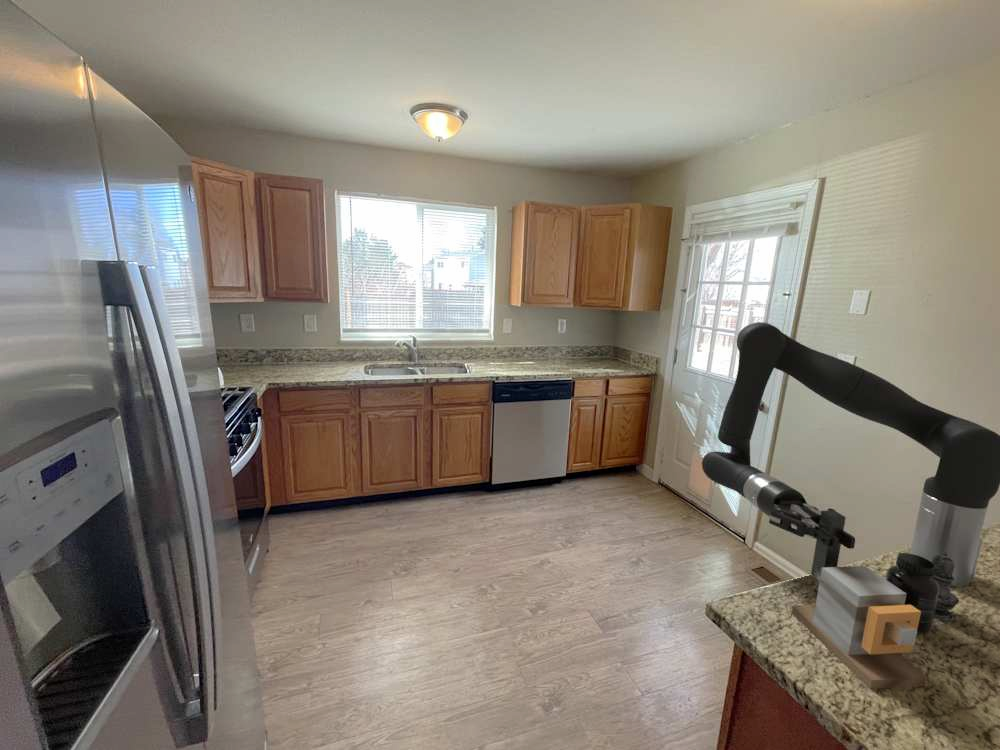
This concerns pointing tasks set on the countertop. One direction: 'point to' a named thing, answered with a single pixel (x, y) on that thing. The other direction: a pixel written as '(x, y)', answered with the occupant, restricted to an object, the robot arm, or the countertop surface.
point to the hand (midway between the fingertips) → (844, 543)
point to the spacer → (876, 625)
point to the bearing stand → (857, 624)
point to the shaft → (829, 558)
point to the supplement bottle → (916, 586)
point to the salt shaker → (944, 586)
